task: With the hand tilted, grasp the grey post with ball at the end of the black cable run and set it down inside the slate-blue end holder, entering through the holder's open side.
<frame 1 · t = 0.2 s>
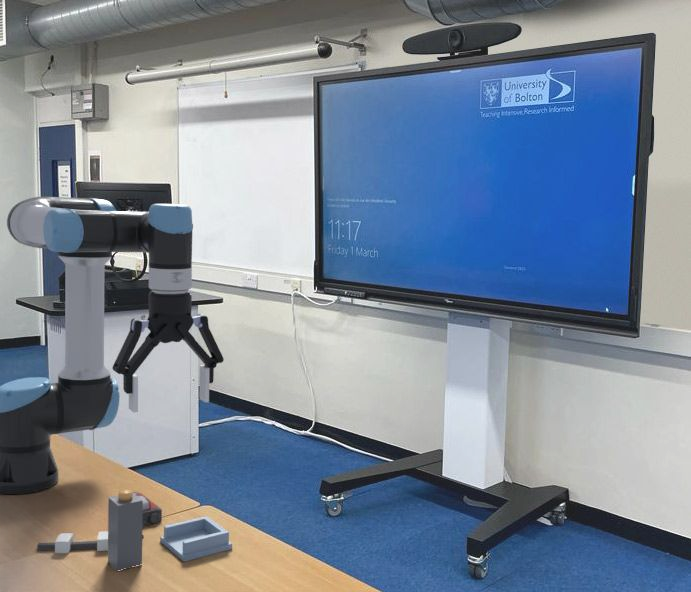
hand: (169, 405, 140), 28 cm above the table, tool pointing down, fingers open, 13 cm apart
end holder: (196, 545, 146), on the table
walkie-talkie: (138, 523, 156), on the table
grey post with ball: (124, 563, 137), on the table
cable run: (83, 548, 142), on the table
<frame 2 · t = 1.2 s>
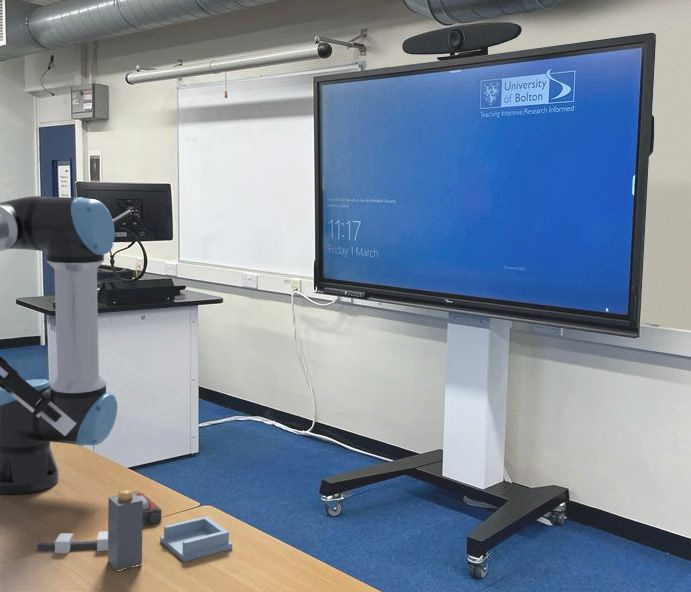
hand: (56, 420, 134), 26 cm above the table, tool tilted 45°, fingers open, 13 cm apart
nothing on the table moved.
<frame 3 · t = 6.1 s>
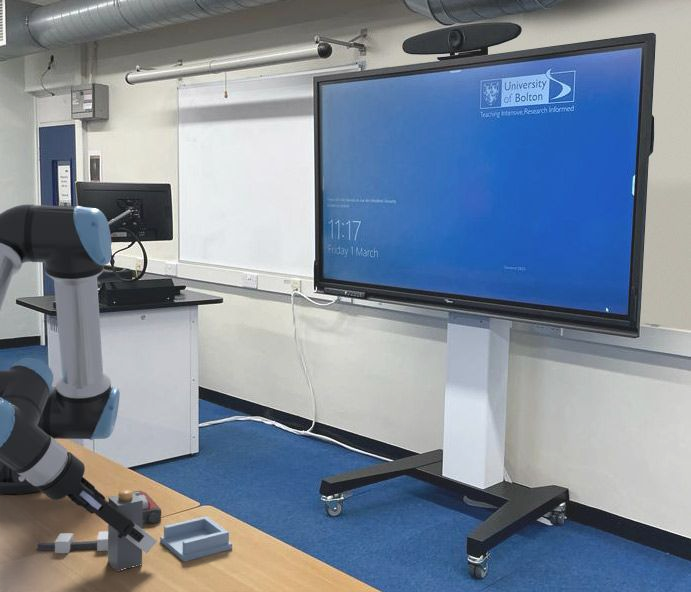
hand: (145, 541, 139), 3 cm above the table, tool tilted 45°, fingers closed on grey post with ball, 4 cm apart
grey post with ball: (124, 563, 137), on the table, touching gripper
everything else where it was.
when the fingers open (6 cm above the table, at t = 10.7 s): grey post with ball drops 1 cm, resting on end holder.
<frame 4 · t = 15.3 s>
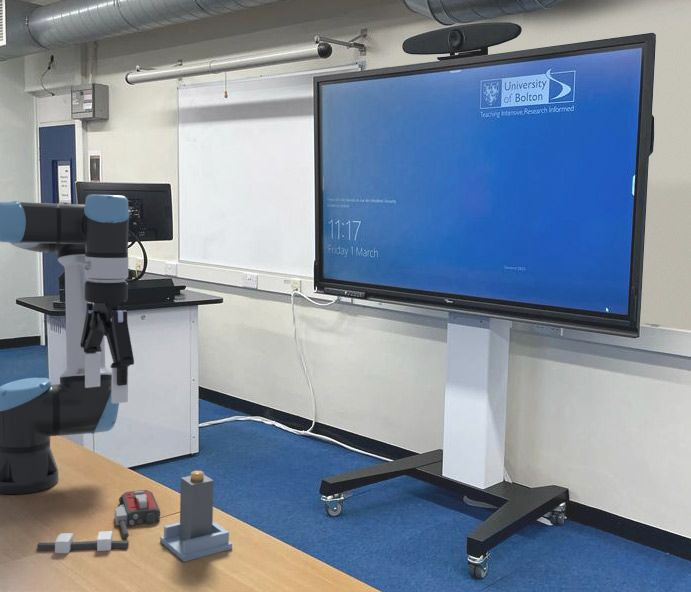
hand: (105, 394, 142), 29 cm above the table, tool pointing down, fingers open, 13 cm apart
grey post with ball: (195, 540, 145), point 1 cm above the table, touching end holder
at the end: grey post with ball 0.2 cm off-centre on the end holder, point 1.0 cm above the end holder's base; grey post with ball tilted 0°; the gripper is holding nothing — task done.
